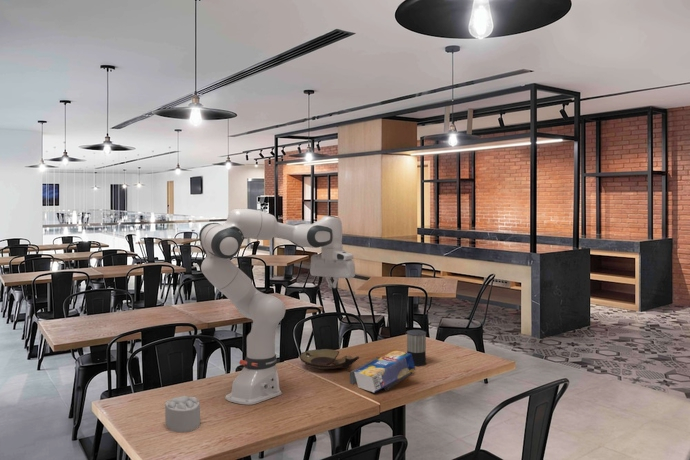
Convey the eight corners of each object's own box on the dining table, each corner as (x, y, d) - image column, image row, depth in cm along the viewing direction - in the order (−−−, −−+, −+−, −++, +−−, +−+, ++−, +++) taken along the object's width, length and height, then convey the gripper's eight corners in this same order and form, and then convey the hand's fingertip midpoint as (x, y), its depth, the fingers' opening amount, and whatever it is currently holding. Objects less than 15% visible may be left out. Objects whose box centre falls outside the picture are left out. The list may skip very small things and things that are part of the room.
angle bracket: (387, 390, 215) (387, 378, 215) (349, 383, 223) (349, 371, 223) (411, 373, 237) (411, 362, 236) (376, 367, 245) (376, 356, 245)
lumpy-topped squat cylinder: (192, 415, 191) (192, 391, 190) (205, 427, 180) (205, 402, 180) (162, 422, 185) (162, 397, 185) (173, 435, 174) (173, 408, 174)
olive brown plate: (331, 356, 264) (331, 341, 264) (367, 372, 239) (367, 355, 239) (290, 364, 252) (290, 347, 252) (323, 381, 227) (323, 363, 227)
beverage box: (358, 387, 219) (398, 365, 231) (374, 392, 210) (415, 369, 222) (353, 371, 218) (394, 350, 230) (370, 376, 209) (411, 353, 221)
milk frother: (430, 365, 249) (430, 333, 248) (399, 369, 243) (399, 336, 243) (415, 357, 262) (415, 326, 261) (385, 360, 257) (385, 329, 256)
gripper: (306, 254, 228) (307, 287, 229) (349, 256, 218) (349, 290, 219) (315, 253, 234) (315, 285, 234) (356, 254, 223) (357, 288, 224)
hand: (332, 287), depth 226 cm, fingers closed
